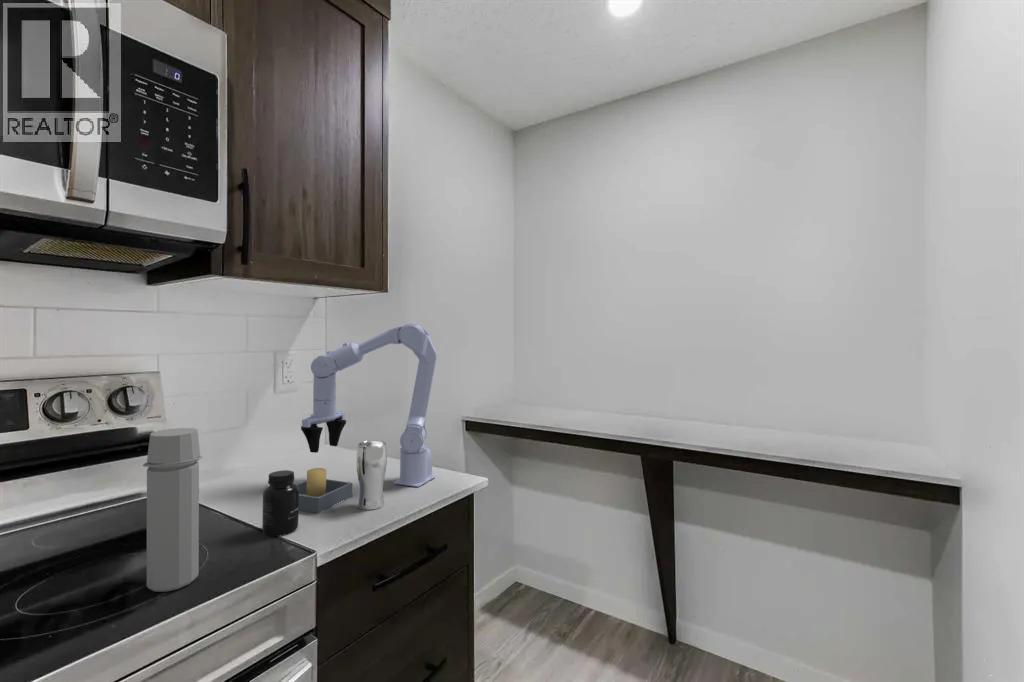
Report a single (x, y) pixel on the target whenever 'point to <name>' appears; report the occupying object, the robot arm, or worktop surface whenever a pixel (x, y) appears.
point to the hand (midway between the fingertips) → (324, 448)
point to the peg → (316, 482)
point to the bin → (324, 496)
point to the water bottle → (172, 509)
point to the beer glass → (371, 473)
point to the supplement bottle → (280, 504)
